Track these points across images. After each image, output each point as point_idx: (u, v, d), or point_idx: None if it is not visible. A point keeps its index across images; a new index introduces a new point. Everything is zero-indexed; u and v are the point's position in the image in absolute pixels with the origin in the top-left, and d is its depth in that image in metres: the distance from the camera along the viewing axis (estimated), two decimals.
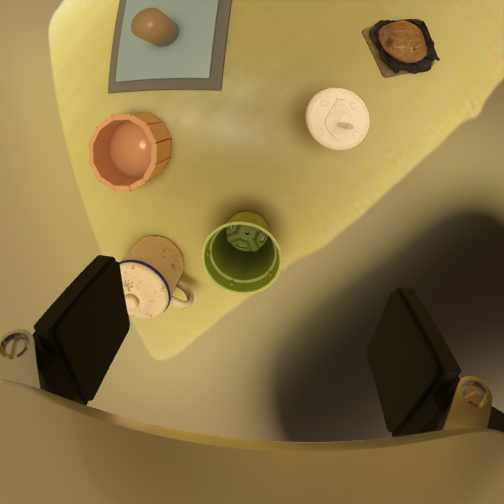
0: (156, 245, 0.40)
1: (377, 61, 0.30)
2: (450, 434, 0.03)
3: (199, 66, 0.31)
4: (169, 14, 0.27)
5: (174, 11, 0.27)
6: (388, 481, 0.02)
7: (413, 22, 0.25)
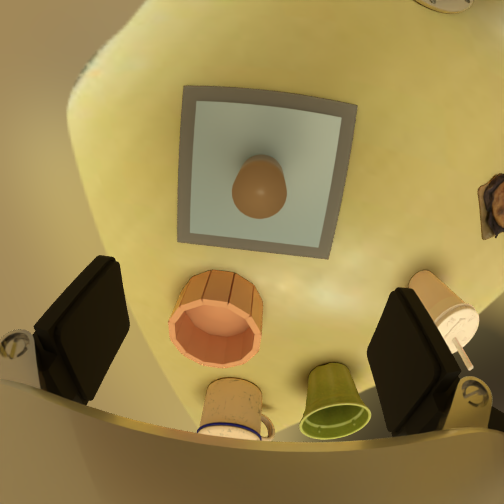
0: (242, 395, 0.38)
1: (482, 224, 0.28)
2: (450, 434, 0.03)
3: (308, 232, 0.29)
4: (268, 145, 0.25)
5: (276, 142, 0.25)
6: (388, 481, 0.02)
7: None
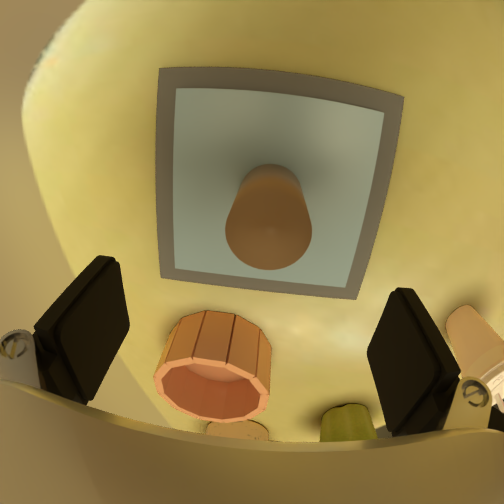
0: None
1: None
2: (450, 434, 0.03)
3: (333, 268, 0.21)
4: (280, 151, 0.18)
5: (291, 146, 0.17)
6: (388, 481, 0.02)
7: None
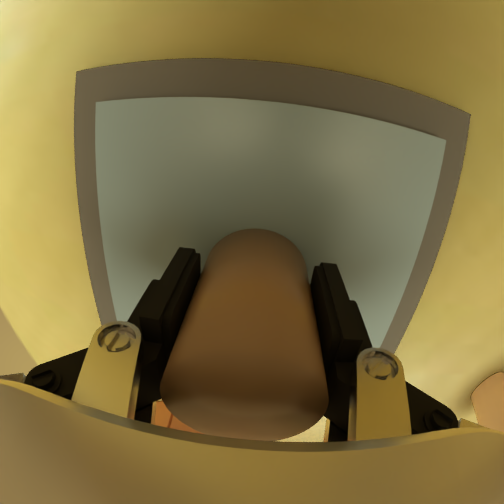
0: None
1: None
2: (450, 434, 0.03)
3: None
4: (272, 206, 0.10)
5: (291, 197, 0.10)
6: (388, 481, 0.02)
7: None
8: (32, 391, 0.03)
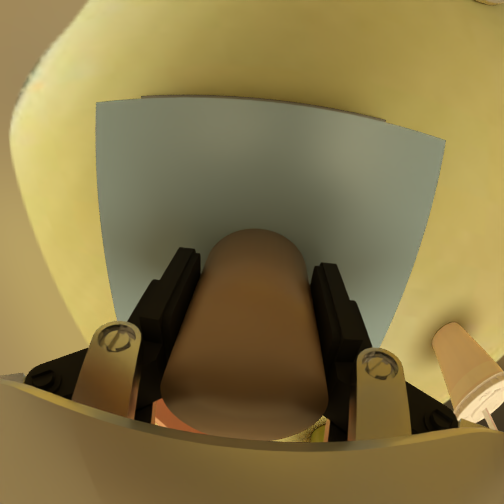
0: None
1: None
2: (450, 434, 0.03)
3: None
4: (272, 206, 0.10)
5: (291, 197, 0.10)
6: (388, 481, 0.02)
7: None
8: (32, 391, 0.03)
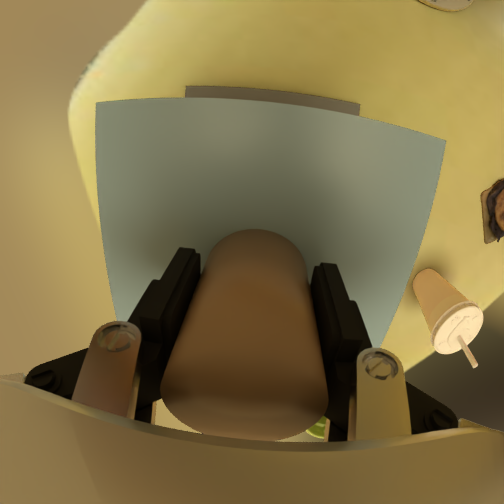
0: None
1: (485, 228, 0.28)
2: (450, 434, 0.03)
3: None
4: (272, 207, 0.10)
5: (291, 198, 0.10)
6: (388, 481, 0.02)
7: None
8: (32, 391, 0.03)
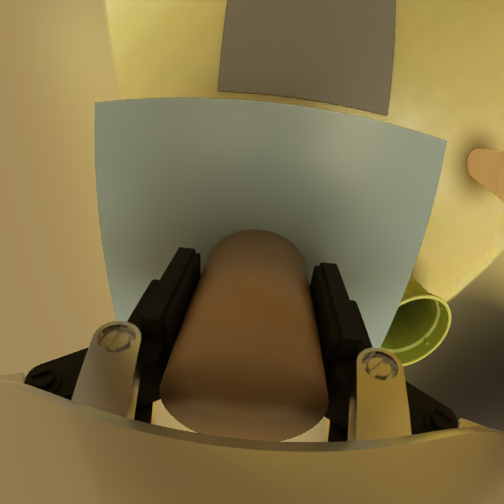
0: None
1: None
2: (450, 434, 0.03)
3: None
4: (272, 207, 0.10)
5: (291, 198, 0.10)
6: (388, 481, 0.02)
7: None
8: (32, 391, 0.03)
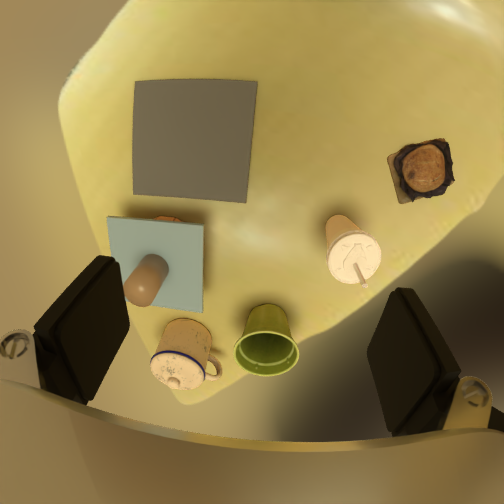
0: (189, 331, 0.46)
1: (396, 189, 0.37)
2: (450, 434, 0.03)
3: (192, 303, 0.40)
4: (155, 248, 0.36)
5: (159, 245, 0.36)
6: (388, 481, 0.02)
7: (437, 145, 0.33)
8: (32, 391, 0.03)
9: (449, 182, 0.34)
